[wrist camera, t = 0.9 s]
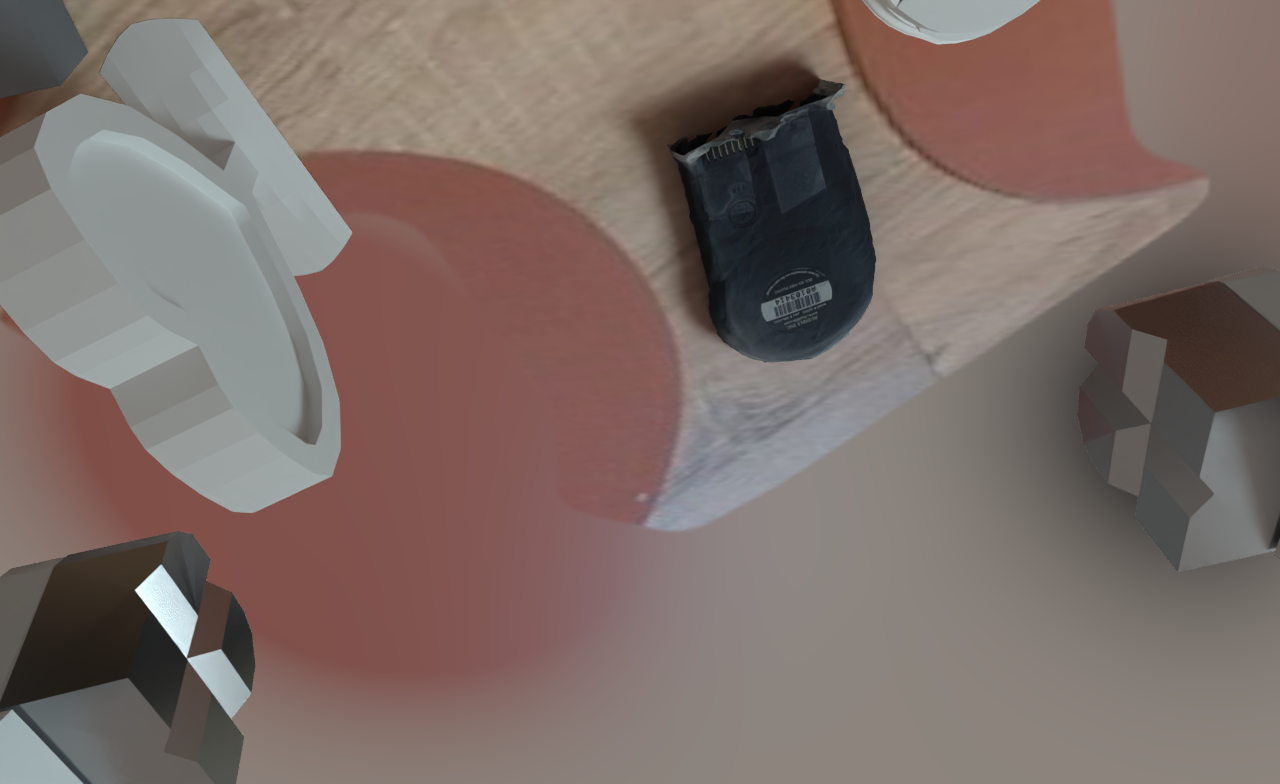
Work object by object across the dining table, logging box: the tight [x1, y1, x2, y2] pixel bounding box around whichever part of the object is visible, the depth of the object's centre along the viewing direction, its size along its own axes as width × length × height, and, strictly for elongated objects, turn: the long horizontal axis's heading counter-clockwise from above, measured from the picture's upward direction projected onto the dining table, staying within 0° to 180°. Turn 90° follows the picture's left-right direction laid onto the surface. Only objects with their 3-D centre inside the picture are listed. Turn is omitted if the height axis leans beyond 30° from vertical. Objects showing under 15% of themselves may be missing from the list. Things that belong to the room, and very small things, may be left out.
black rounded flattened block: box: [668, 79, 876, 362], centre depth 53 cm, size 9×6×15 cm
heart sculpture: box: [0, 18, 352, 513], centre depth 40 cm, size 16×5×18 cm, turn 24°
